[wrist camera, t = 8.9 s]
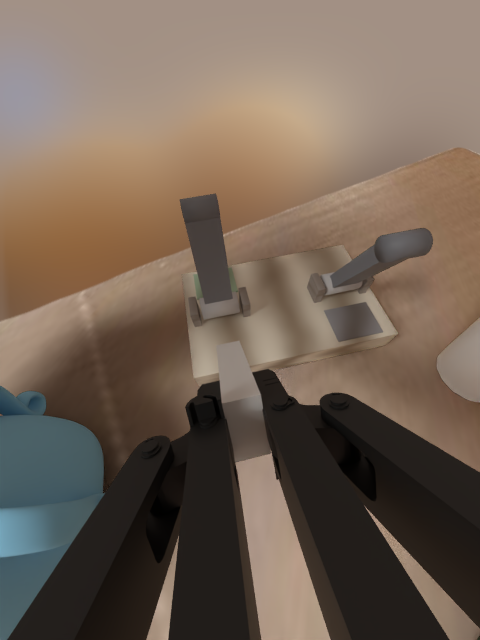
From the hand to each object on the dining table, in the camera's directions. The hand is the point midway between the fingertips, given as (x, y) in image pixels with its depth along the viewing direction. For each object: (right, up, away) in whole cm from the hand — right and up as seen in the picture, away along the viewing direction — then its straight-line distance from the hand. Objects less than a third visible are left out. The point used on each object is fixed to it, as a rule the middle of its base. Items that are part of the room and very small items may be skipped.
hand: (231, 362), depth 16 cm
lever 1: (-2, +3, +12) cm, 12 cm away
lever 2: (+12, +7, +13) cm, 19 cm away
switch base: (+5, +3, +16) cm, 17 cm away
